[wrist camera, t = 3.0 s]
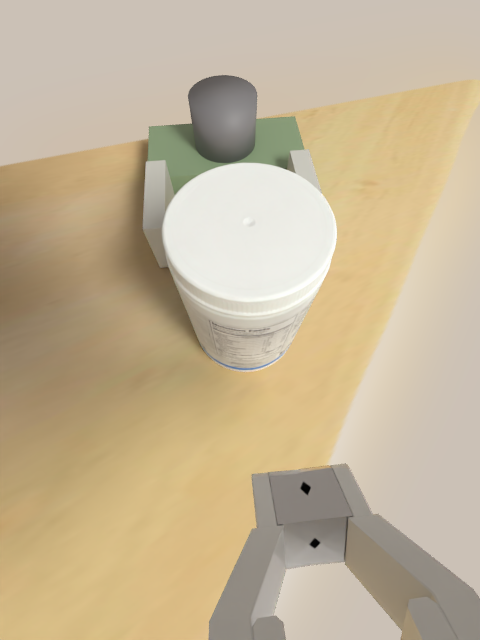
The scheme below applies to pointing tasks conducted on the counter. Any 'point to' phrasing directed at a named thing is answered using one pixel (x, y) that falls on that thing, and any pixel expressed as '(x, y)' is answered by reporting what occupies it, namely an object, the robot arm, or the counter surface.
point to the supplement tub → (248, 258)
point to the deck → (195, 165)
